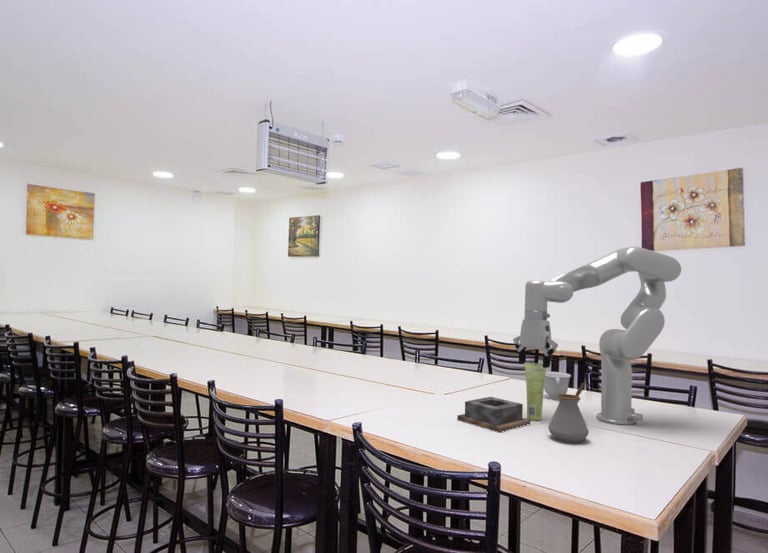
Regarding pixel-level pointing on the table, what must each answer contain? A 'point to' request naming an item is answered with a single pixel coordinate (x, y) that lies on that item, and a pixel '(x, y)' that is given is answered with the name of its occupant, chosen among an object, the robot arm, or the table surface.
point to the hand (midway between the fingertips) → (534, 365)
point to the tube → (534, 389)
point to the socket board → (494, 414)
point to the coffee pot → (569, 419)
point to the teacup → (556, 384)
